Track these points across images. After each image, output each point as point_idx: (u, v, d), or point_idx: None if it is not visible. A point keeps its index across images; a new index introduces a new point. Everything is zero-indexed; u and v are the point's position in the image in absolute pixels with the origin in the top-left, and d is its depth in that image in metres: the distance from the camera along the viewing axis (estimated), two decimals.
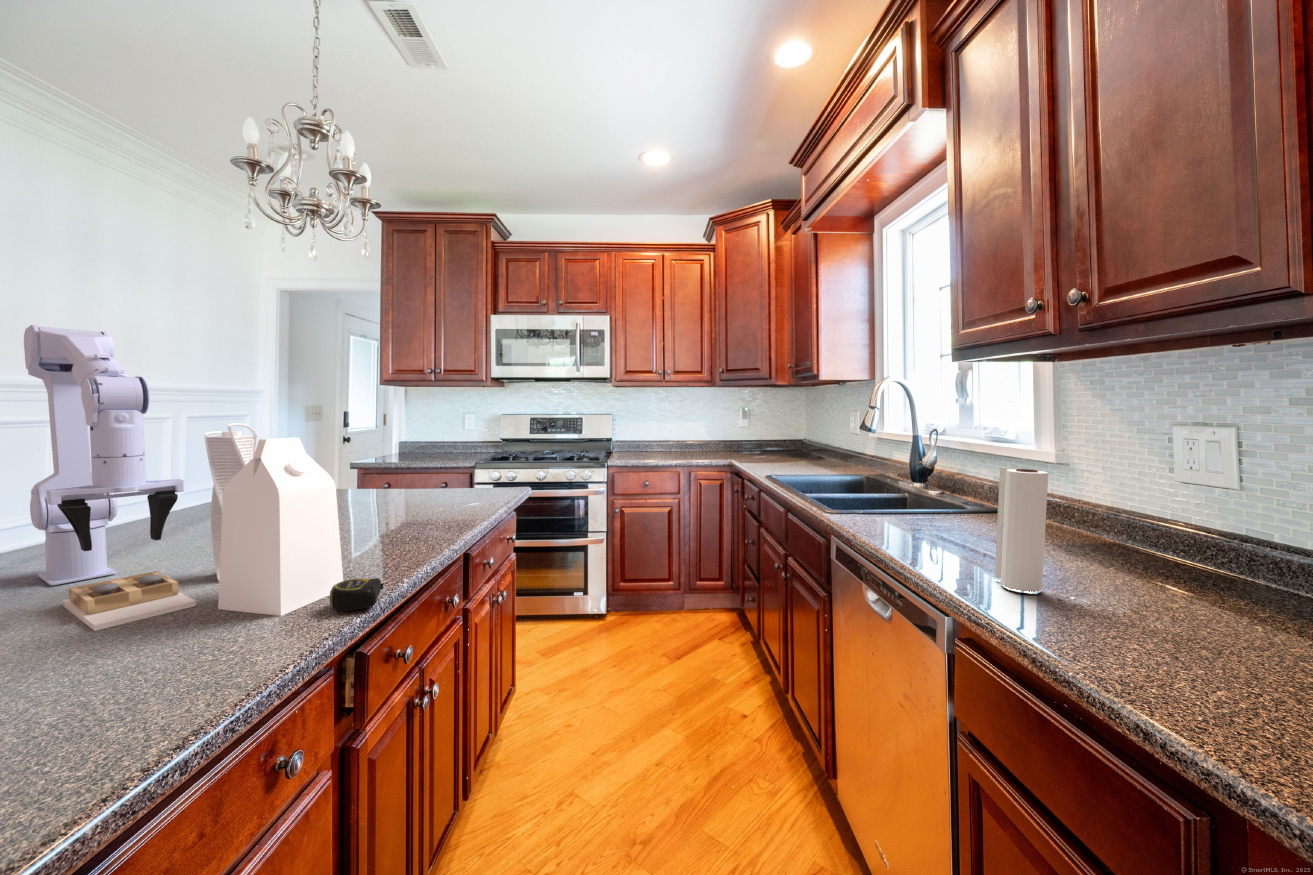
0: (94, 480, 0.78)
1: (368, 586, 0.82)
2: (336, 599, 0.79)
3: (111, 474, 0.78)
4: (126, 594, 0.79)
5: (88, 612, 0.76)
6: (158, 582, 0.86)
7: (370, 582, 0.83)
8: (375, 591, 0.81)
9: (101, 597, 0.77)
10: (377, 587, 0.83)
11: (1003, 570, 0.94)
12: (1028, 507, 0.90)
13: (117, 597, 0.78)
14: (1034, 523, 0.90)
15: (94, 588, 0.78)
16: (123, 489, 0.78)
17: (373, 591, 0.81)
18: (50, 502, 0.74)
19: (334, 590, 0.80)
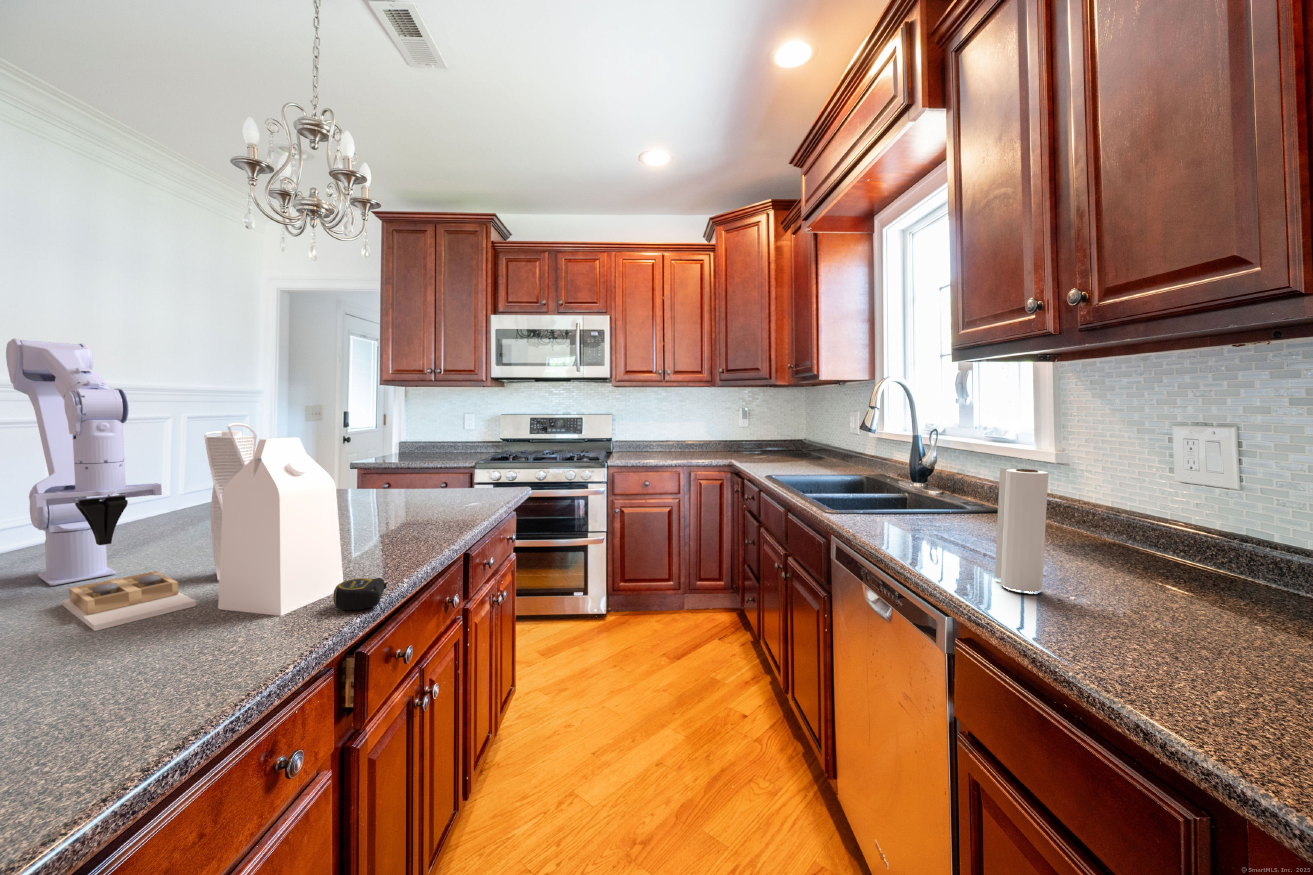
0: (76, 485, 0.84)
1: (371, 586, 0.82)
2: (340, 598, 0.79)
3: (92, 479, 0.84)
4: (126, 594, 0.79)
5: (88, 612, 0.76)
6: (158, 582, 0.86)
7: (373, 582, 0.84)
8: (378, 591, 0.82)
9: (101, 597, 0.77)
10: (380, 587, 0.84)
11: (1003, 570, 0.94)
12: (1028, 507, 0.90)
13: (117, 597, 0.78)
14: (1034, 523, 0.90)
15: (94, 588, 0.78)
16: (103, 493, 0.84)
17: (376, 591, 0.81)
18: (36, 505, 0.81)
19: (338, 589, 0.80)
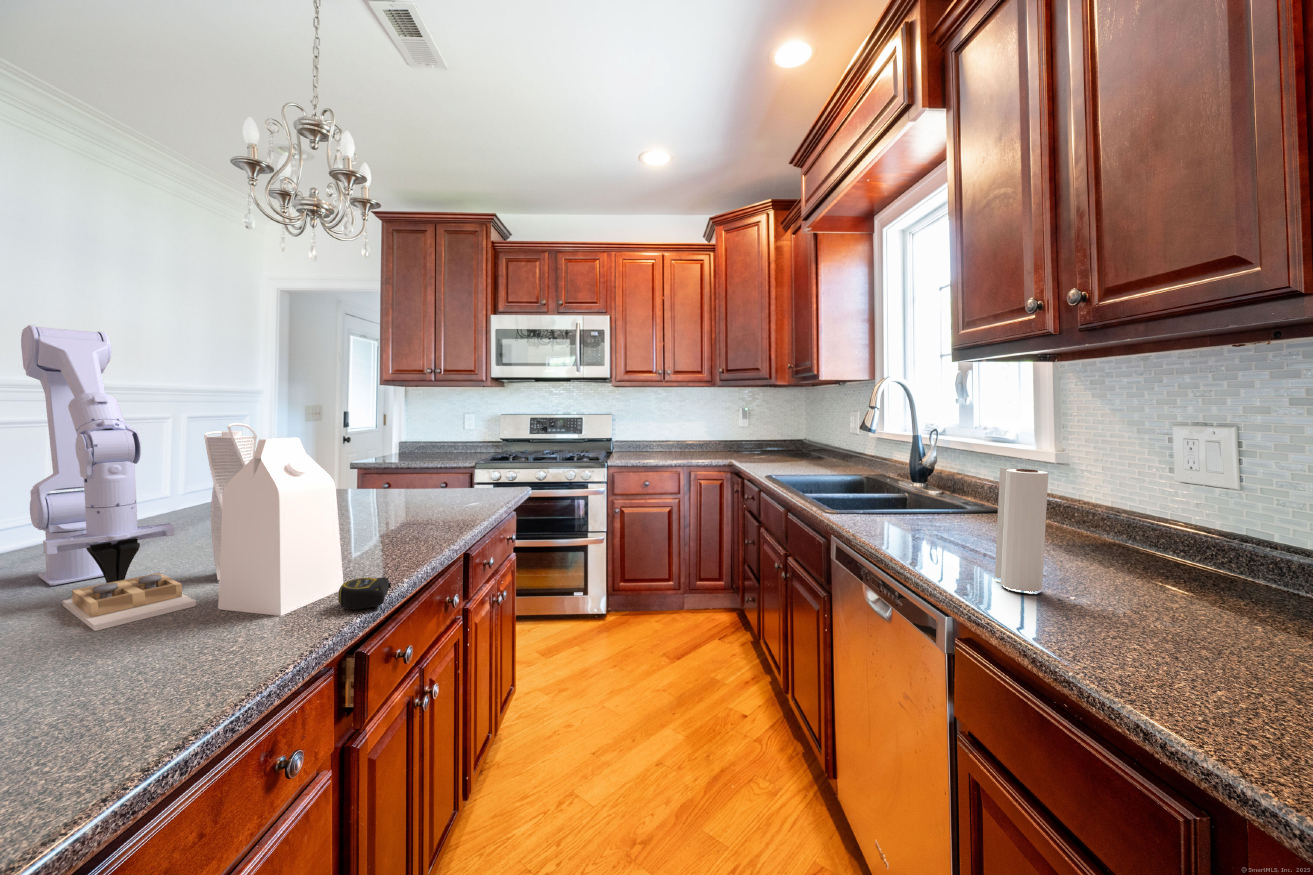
0: (88, 529, 0.82)
1: (376, 585, 0.82)
2: (345, 598, 0.80)
3: (104, 523, 0.82)
4: (130, 596, 0.78)
5: (91, 614, 0.75)
6: (162, 584, 0.85)
7: (378, 581, 0.84)
8: (383, 590, 0.82)
9: (104, 599, 0.76)
10: (385, 586, 0.84)
11: (1003, 570, 0.94)
12: (1028, 507, 0.90)
13: (120, 599, 0.77)
14: (1034, 523, 0.90)
15: (94, 588, 0.78)
16: (115, 537, 0.82)
17: (381, 590, 0.81)
18: (46, 552, 0.78)
19: (343, 589, 0.80)
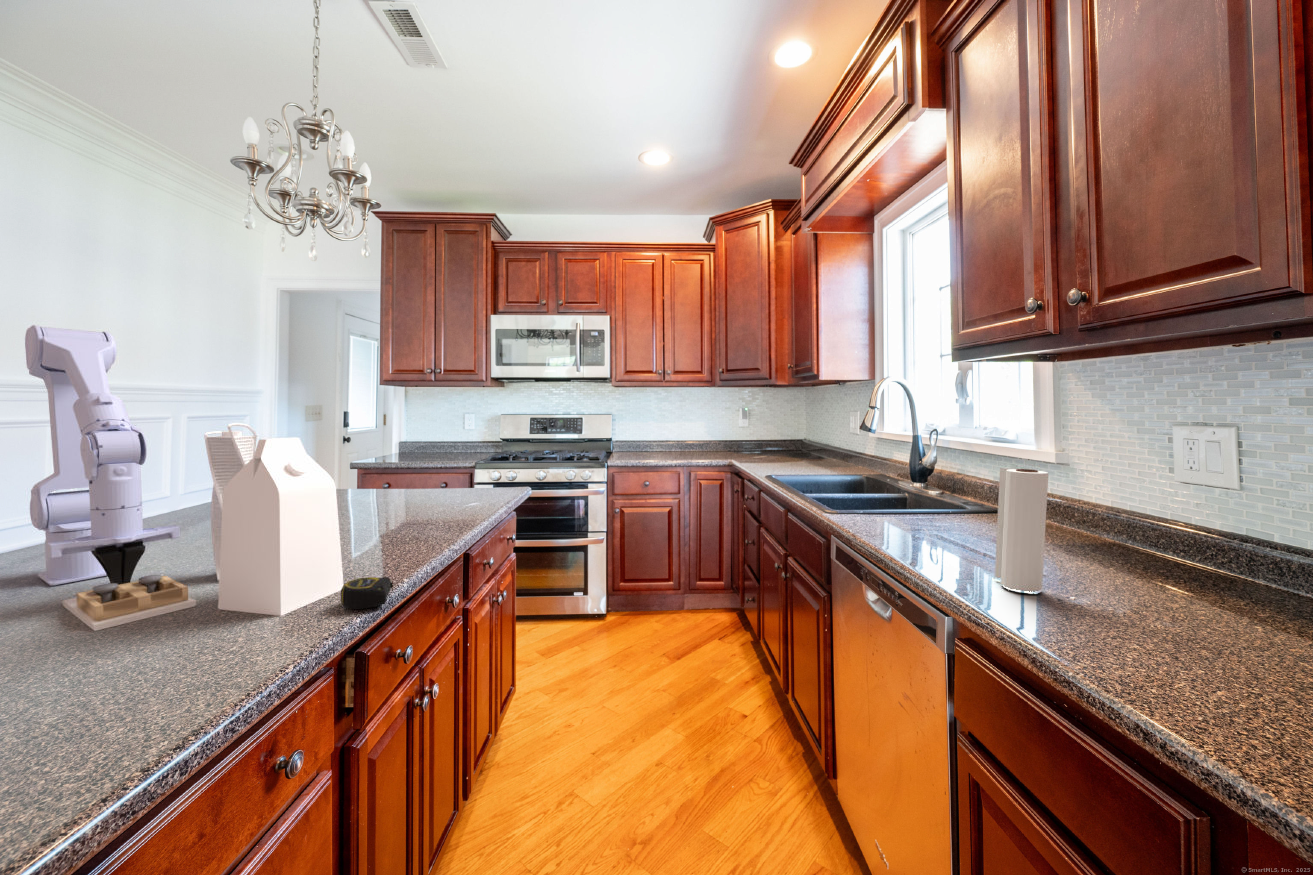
0: (93, 532, 0.81)
1: (378, 585, 0.82)
2: (347, 597, 0.80)
3: (109, 526, 0.81)
4: (135, 600, 0.77)
5: (96, 618, 0.74)
6: (167, 587, 0.84)
7: (380, 581, 0.84)
8: (385, 589, 0.82)
9: (110, 603, 0.75)
10: (387, 586, 0.84)
11: (1003, 570, 0.94)
12: (1028, 507, 0.90)
13: (126, 603, 0.76)
14: (1034, 523, 0.90)
15: (94, 588, 0.78)
16: (121, 540, 0.81)
17: (383, 590, 0.81)
18: (51, 555, 0.77)
19: (345, 588, 0.81)
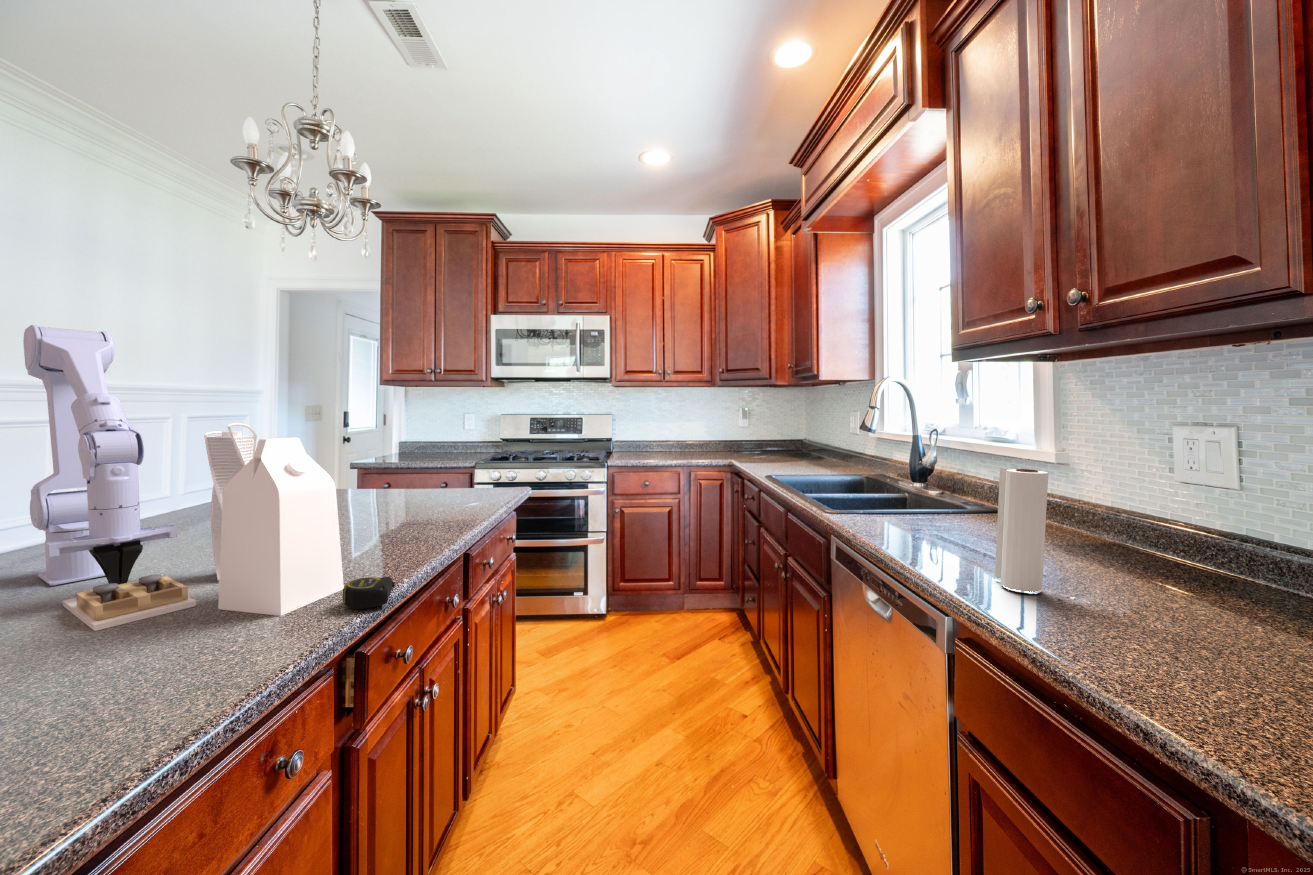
0: (90, 531, 0.81)
1: (380, 584, 0.83)
2: (349, 597, 0.80)
3: (107, 525, 0.81)
4: (135, 599, 0.77)
5: (96, 618, 0.74)
6: (167, 587, 0.84)
7: (382, 580, 0.84)
8: (387, 589, 0.82)
9: (109, 603, 0.75)
10: (389, 585, 0.84)
11: (1003, 570, 0.94)
12: (1028, 507, 0.90)
13: (126, 603, 0.76)
14: (1034, 523, 0.90)
15: (94, 588, 0.78)
16: (118, 539, 0.81)
17: (385, 590, 0.82)
18: (49, 554, 0.77)
19: (347, 588, 0.81)
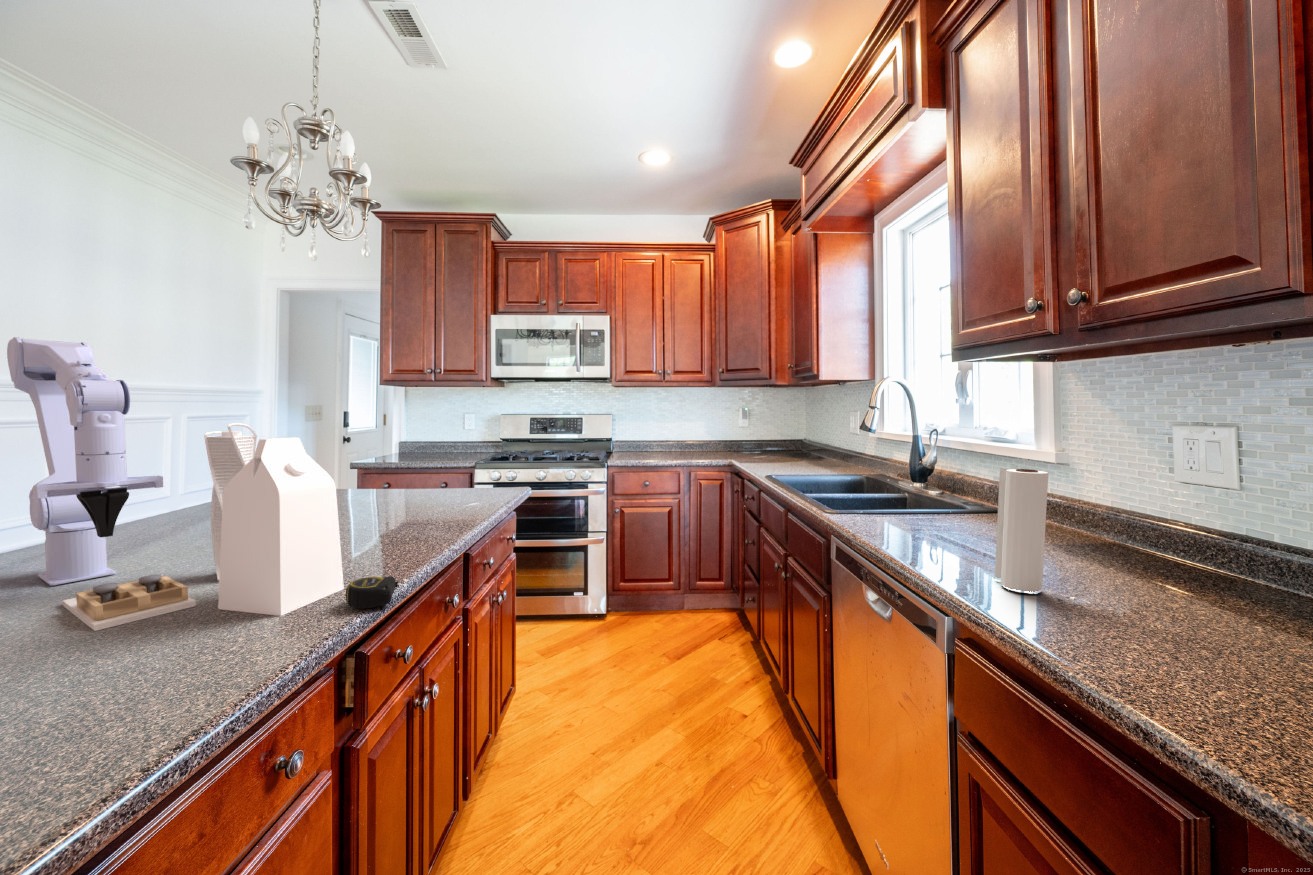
0: (78, 476, 0.84)
1: (383, 584, 0.83)
2: (352, 597, 0.80)
3: (94, 470, 0.84)
4: (135, 599, 0.77)
5: (96, 618, 0.74)
6: (167, 587, 0.84)
7: (385, 580, 0.84)
8: (390, 589, 0.82)
9: (109, 603, 0.75)
10: (392, 585, 0.84)
11: (1003, 570, 0.94)
12: (1028, 507, 0.90)
13: (126, 603, 0.76)
14: (1034, 523, 0.90)
15: (94, 588, 0.78)
16: (105, 484, 0.84)
17: (388, 589, 0.82)
18: (37, 496, 0.80)
19: (350, 588, 0.81)
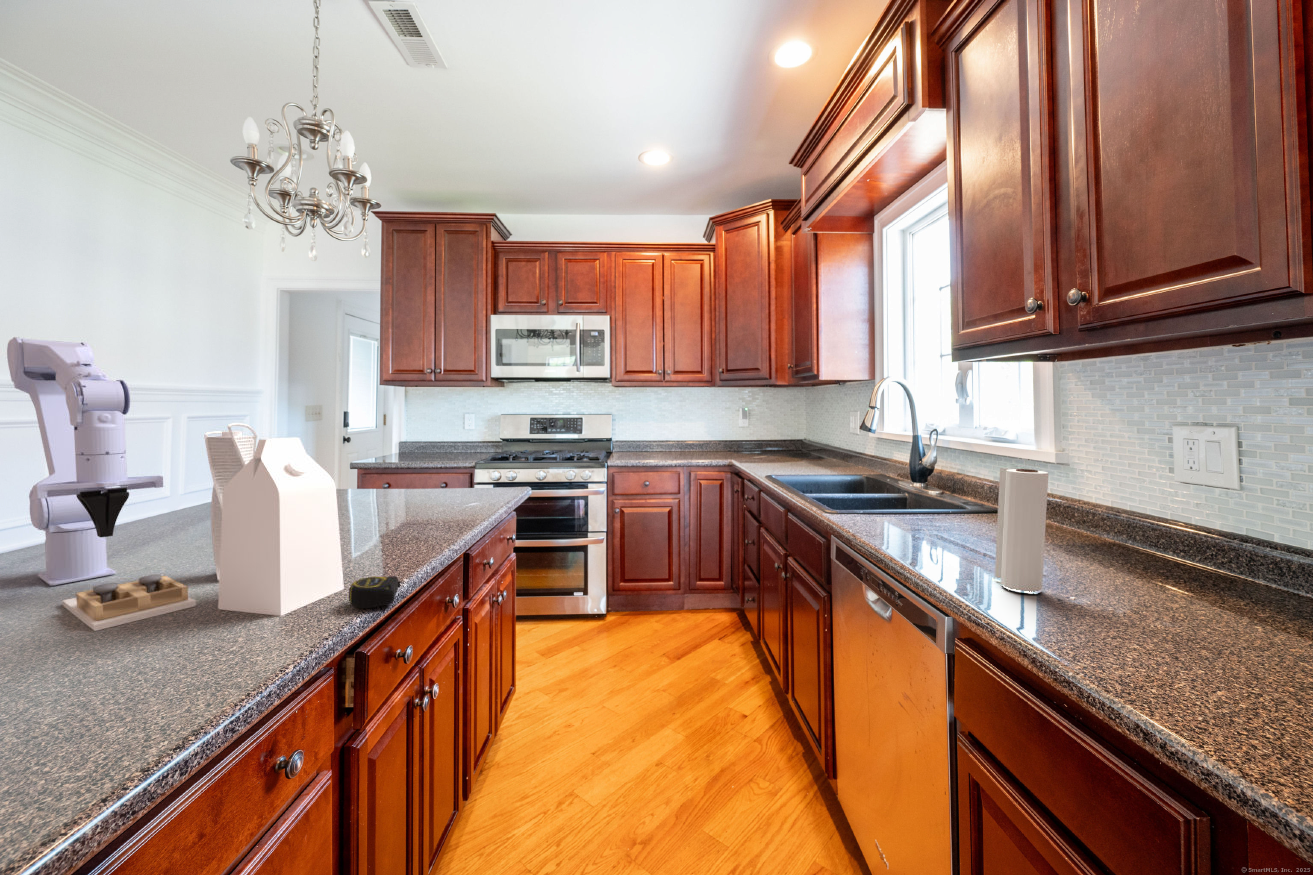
0: (78, 476, 0.84)
1: (386, 584, 0.83)
2: (355, 596, 0.80)
3: (94, 470, 0.84)
4: (135, 599, 0.77)
5: (96, 618, 0.74)
6: (167, 587, 0.84)
7: (388, 580, 0.85)
8: (393, 589, 0.83)
9: (109, 603, 0.75)
10: (395, 585, 0.85)
11: (1003, 570, 0.94)
12: (1028, 507, 0.90)
13: (126, 603, 0.76)
14: (1034, 523, 0.90)
15: (94, 588, 0.78)
16: (105, 484, 0.84)
17: (391, 589, 0.82)
18: (37, 496, 0.80)
19: (353, 587, 0.81)
